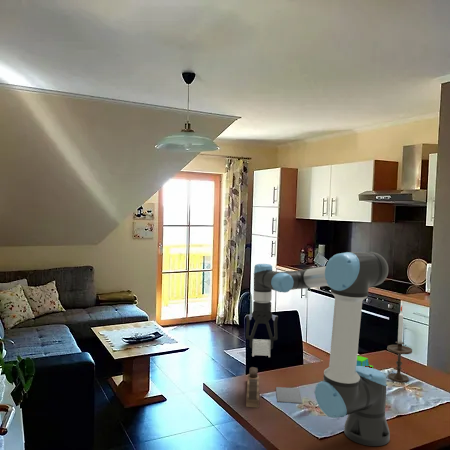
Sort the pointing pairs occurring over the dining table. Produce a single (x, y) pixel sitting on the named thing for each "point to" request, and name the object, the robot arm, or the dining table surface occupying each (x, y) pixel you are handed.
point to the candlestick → (399, 353)
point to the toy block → (362, 361)
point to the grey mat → (288, 395)
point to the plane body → (253, 388)
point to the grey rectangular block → (261, 347)
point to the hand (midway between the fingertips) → (261, 355)
